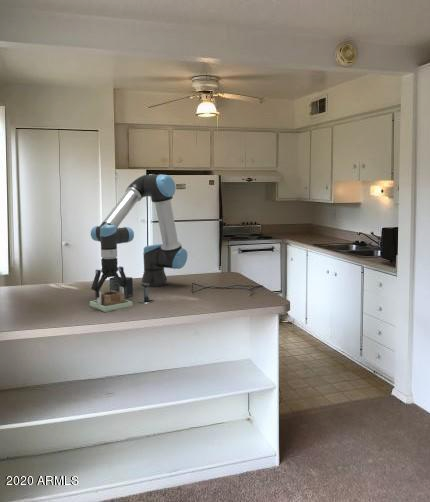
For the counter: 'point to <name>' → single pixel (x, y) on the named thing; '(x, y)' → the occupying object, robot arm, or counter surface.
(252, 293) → the counter surface
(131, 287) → the small box
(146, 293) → the dark grey knobbed stand
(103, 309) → the tray
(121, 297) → the collar
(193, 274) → the counter surface
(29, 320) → the counter surface
